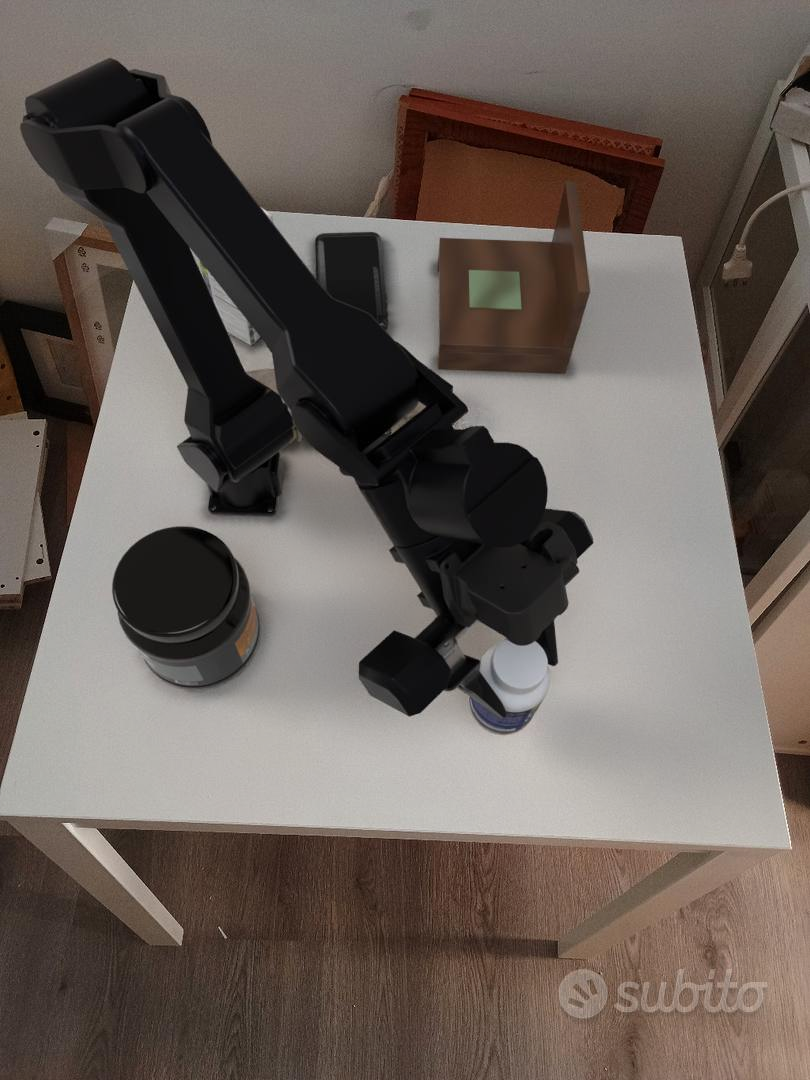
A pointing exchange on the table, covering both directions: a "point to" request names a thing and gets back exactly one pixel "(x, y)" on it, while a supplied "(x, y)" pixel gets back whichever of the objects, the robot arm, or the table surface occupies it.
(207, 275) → the syrup box
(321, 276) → the phone
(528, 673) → the pill bottle
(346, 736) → the table surface
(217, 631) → the supplement container
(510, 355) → the wooden corner stand
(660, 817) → the table surface
